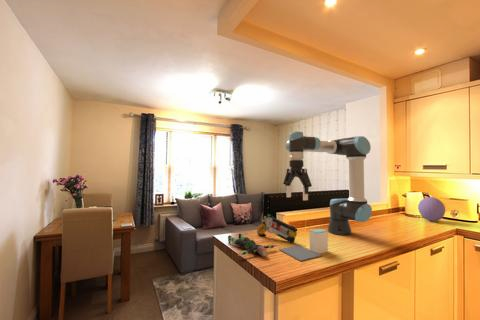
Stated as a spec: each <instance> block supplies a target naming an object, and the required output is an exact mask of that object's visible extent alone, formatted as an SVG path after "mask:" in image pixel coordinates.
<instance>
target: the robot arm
mask: <svg viewBox="0 0 480 320" xmlns="http://www.w3.org/2000/svg"><path fill="white" fill-rule="evenodd" d="M288 137H289V139H288V140H287V141H286V143H285V148H286V150H287V151H288V152H289V161H288V162H289V168H286V173H285V177H284V180H283V185H285V192H286V198H291V197H292V183H293V180H294V179H295V178H298V179H299V181H300V182H301V184H302V186H303V187H302V201H309V192H310V191H309V189H310V187H312V182H311V180H310V176H309V174H308V169H307V168H303V167H304V159H305V158H304V152H306V153H307V152H308V153H317V152H318V153H327V154H329V155H338V156H339V155H340V156H346V157H345V158H346V159H347V160H348V182H349V183H348V184H349V188H348V189H349V197H348V198H332V199H330V201H329V217H330V219H329V223H328V226H327V231H328V233H330V234H334V235H338V236H348V235H351V234H352V228H351V225H350V222H349V220H351V221H355V222H358V223H359V222H360V223H365V222H367V221H369V220H370V218H371V216H372V214H373V213H372V212H373V209H372V206H371V205H370V204H369V203H368V199H366V197H365V160H366V159H367V155H368V154H369V153H370V151H371V147H372V145H371V143H370V141H369V139H368V138H367V137H365V136H362V135H360V136H358V135H357V136H351V137H345V138H340V139H329V140H328V141H327V140H321V139H320V138H319V137H316V136H306V135H304V133H303V132H302V131H291V132H290V133H289V136H288Z"/></svg>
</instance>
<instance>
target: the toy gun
mask: <svg viewBox="0 0 480 320" xmlns="http://www.w3.org/2000/svg"><path fill="white" fill-rule="evenodd" d="M259 219H260V220H261V223H260V225H259V226H257V230H256V232H257V235H259V236H260V237H263V236H264V237H265V236H266V235H267V234H265V233H266V232H268V233H269V234H273V235H276V236H277V237H279V238H282V239H283V240H285V241H287V242H289V243H291V244H293V243H295V240H296V237H297V232H298V229H297V227H295V226H293V225H290V224H288V223H286V222H284V221H282V220H280V219H277V218H276V217H274V216H273V215H271V214H267V216H266V215H264V216H263V217H260V218H259Z"/></svg>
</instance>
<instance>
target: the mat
mask: <svg viewBox="0 0 480 320" xmlns="http://www.w3.org/2000/svg"><path fill="white" fill-rule="evenodd" d="M278 250H279V251H280V252H281V253H283V254H286V255H287V256H289V257H291V258H293V259H295V260H297V261H298V262H305V261H309V260H312V259H313V260H314V259H317V258H321V257H323V255H322V254H321V253H320V254H318V253H316V252H314V251H311V250H310V248H306V247H305V246H302V245H300V244H298V245H293V246H287V247H283V248H282V247H281V248H279V249H278Z"/></svg>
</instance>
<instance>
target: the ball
mask: <svg viewBox="0 0 480 320" xmlns="http://www.w3.org/2000/svg"><path fill="white" fill-rule="evenodd" d="M417 205H418V206H417V209H418V212H419V214H420V216H421V217H422V218H423V219H425V220H427V221H430V222H436V221H440V220H441V219H442V218H444V216H445V213H446V206H445V203H443V202H442V201H441V200H440V199H438V198H436V197H434V196H426V197H424V198H423V199H421V200H420V201H419V203H418V204H417Z"/></svg>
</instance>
